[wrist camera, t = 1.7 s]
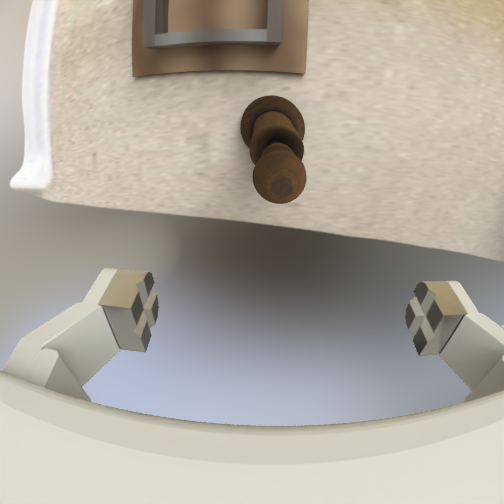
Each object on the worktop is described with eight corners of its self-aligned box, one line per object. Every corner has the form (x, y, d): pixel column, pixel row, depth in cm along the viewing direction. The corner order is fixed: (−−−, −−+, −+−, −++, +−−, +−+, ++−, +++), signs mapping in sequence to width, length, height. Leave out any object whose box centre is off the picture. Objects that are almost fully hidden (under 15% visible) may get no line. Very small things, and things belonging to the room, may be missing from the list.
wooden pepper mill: (315, 128, 30) (365, 193, 15) (271, 164, 33) (276, 259, 18) (273, 83, 28) (284, 98, 13) (228, 123, 30) (192, 183, 16)
